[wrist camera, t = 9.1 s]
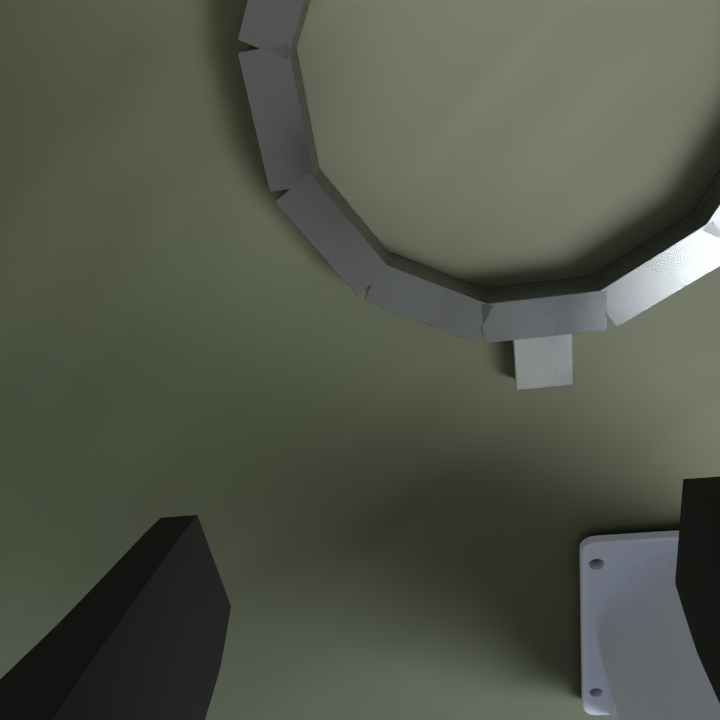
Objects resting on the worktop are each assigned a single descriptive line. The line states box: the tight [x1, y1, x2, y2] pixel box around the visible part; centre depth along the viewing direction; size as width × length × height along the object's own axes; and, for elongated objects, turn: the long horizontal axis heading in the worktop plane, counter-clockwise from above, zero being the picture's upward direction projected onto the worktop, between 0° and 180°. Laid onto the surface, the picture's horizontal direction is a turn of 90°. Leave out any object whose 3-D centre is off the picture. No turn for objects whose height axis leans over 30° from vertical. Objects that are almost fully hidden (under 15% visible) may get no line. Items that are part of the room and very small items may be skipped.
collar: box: [238, 0, 720, 390], centre depth 16 cm, size 17×13×1 cm
